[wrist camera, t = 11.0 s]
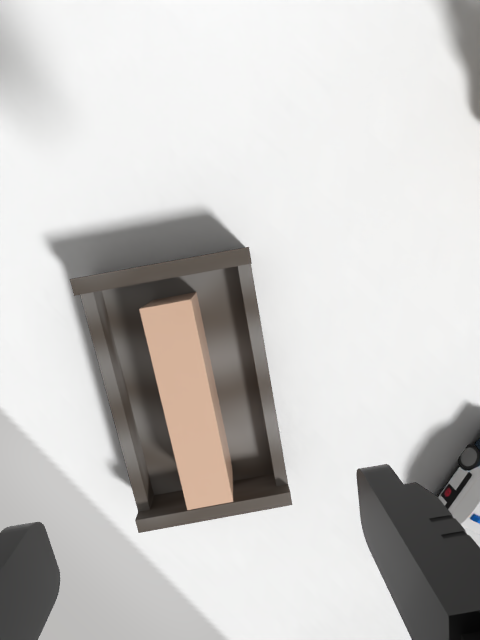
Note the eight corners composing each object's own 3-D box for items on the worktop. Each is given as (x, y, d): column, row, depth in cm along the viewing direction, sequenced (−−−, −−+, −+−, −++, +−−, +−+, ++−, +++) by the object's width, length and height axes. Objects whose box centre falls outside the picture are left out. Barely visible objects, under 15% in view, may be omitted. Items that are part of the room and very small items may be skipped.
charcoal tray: (90, 275, 29) (69, 279, 25) (245, 247, 29) (248, 246, 25) (149, 499, 33) (138, 532, 29) (284, 474, 33) (292, 504, 29)
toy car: (392, 545, 36) (419, 592, 31) (484, 414, 33) (528, 442, 28) (433, 564, 36) (465, 613, 31) (526, 436, 34) (576, 468, 29)
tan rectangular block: (152, 300, 29) (139, 309, 24) (196, 292, 29) (191, 299, 24) (192, 474, 32) (187, 510, 27) (232, 466, 32) (233, 501, 27)
